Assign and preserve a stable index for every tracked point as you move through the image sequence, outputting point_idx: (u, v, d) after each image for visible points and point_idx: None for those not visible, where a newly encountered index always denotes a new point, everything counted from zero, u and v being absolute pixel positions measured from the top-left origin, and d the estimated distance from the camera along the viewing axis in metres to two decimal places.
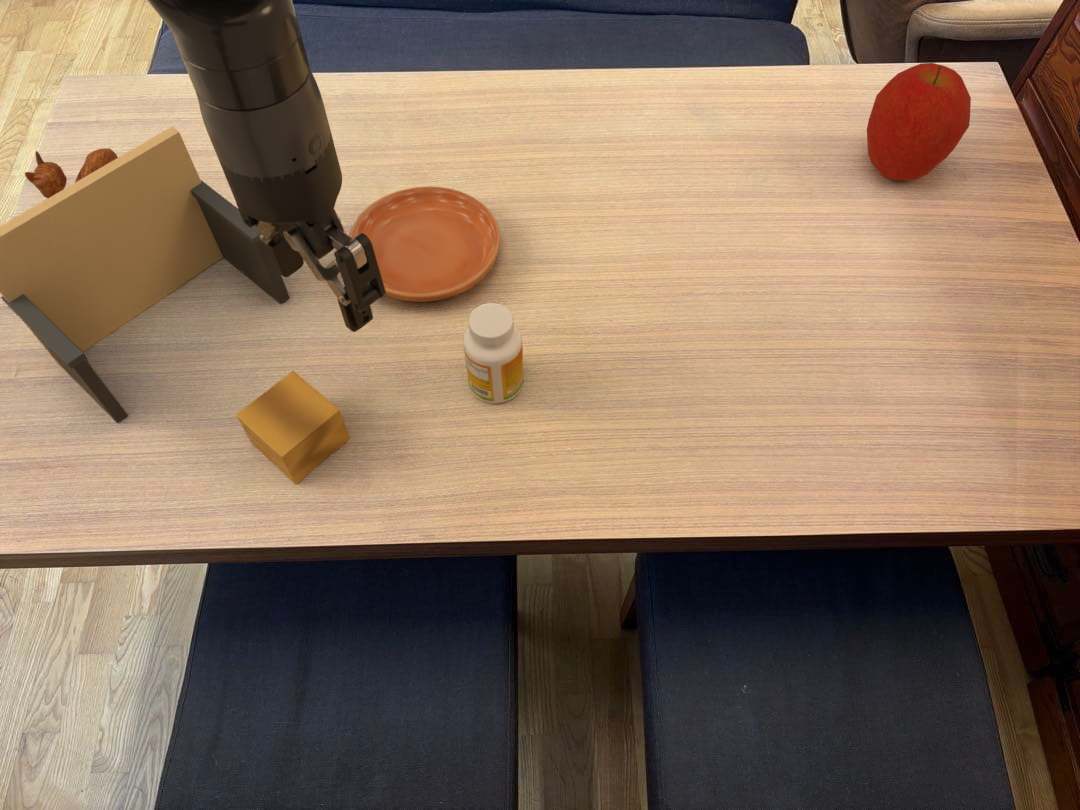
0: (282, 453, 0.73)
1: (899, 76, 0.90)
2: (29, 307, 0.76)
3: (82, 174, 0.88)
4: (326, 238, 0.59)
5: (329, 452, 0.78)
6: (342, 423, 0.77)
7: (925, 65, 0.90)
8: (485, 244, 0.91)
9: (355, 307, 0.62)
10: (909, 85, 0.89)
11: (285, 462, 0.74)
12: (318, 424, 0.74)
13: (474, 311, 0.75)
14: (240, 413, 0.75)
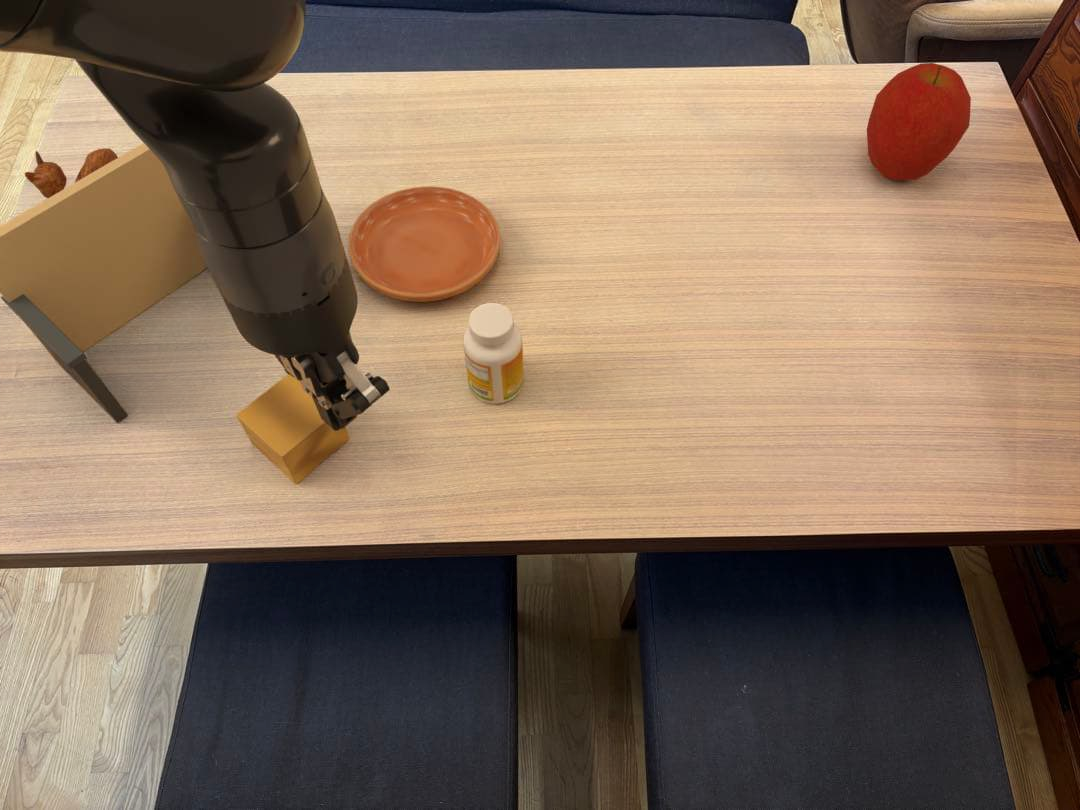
0: (282, 453, 0.73)
1: (899, 76, 0.90)
2: (29, 307, 0.76)
3: (82, 174, 0.88)
4: (342, 374, 0.53)
5: (329, 452, 0.78)
6: None
7: (925, 65, 0.90)
8: (485, 244, 0.91)
9: (337, 414, 0.58)
10: (909, 85, 0.89)
11: (285, 462, 0.74)
12: (318, 424, 0.74)
13: (474, 311, 0.75)
14: (240, 413, 0.75)
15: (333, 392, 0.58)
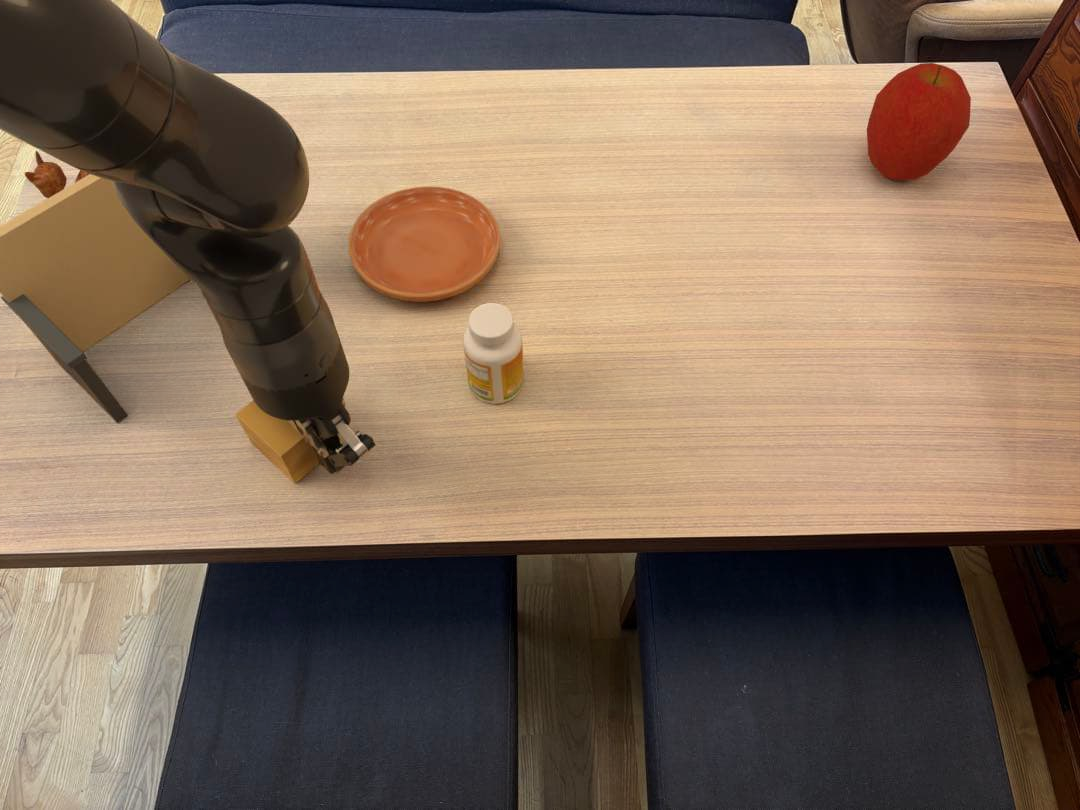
0: (281, 452, 0.73)
1: (899, 76, 0.90)
2: (29, 307, 0.76)
3: (82, 174, 0.88)
4: (336, 433, 0.65)
5: None
6: None
7: (925, 65, 0.90)
8: (485, 244, 0.91)
9: (332, 463, 0.70)
10: (909, 85, 0.89)
11: (284, 461, 0.74)
12: None
13: (474, 311, 0.75)
14: (239, 412, 0.75)
15: (329, 444, 0.71)
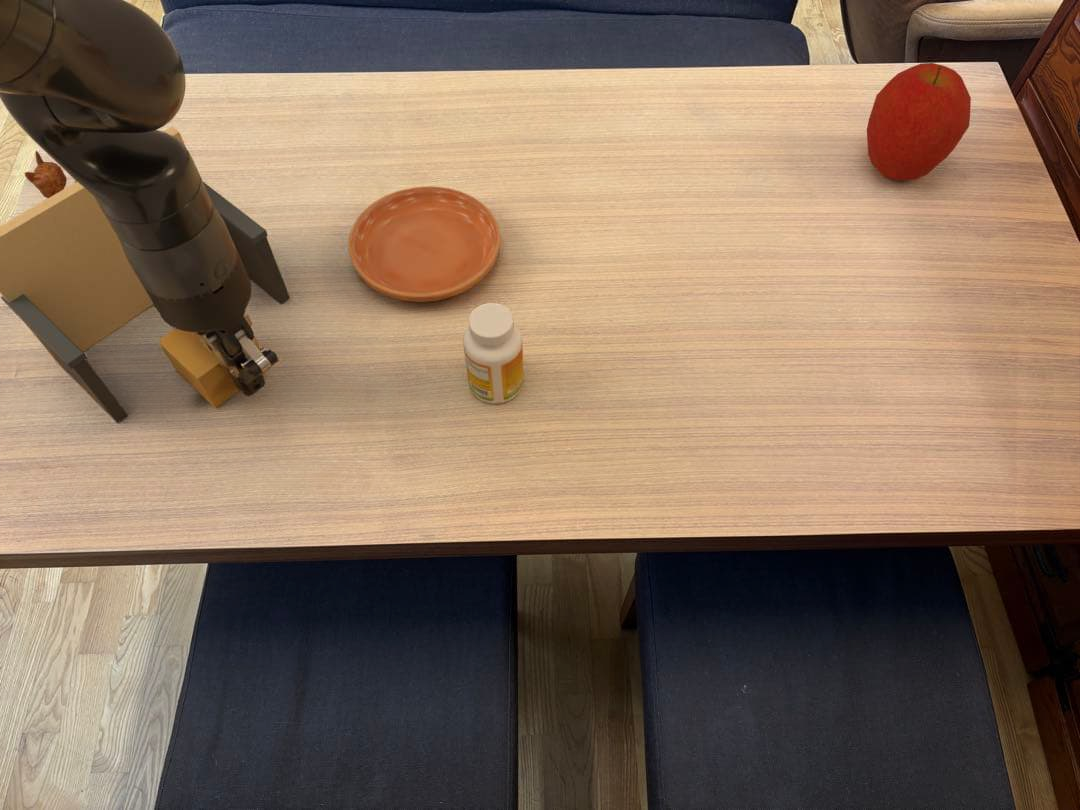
0: (199, 375, 0.77)
1: (899, 76, 0.90)
2: (29, 307, 0.76)
3: None
4: (240, 347, 0.70)
5: None
6: None
7: (925, 65, 0.90)
8: (485, 244, 0.91)
9: (242, 381, 0.74)
10: (909, 85, 0.89)
11: (202, 384, 0.78)
12: None
13: (474, 311, 0.75)
14: (161, 339, 0.80)
15: (240, 364, 0.75)
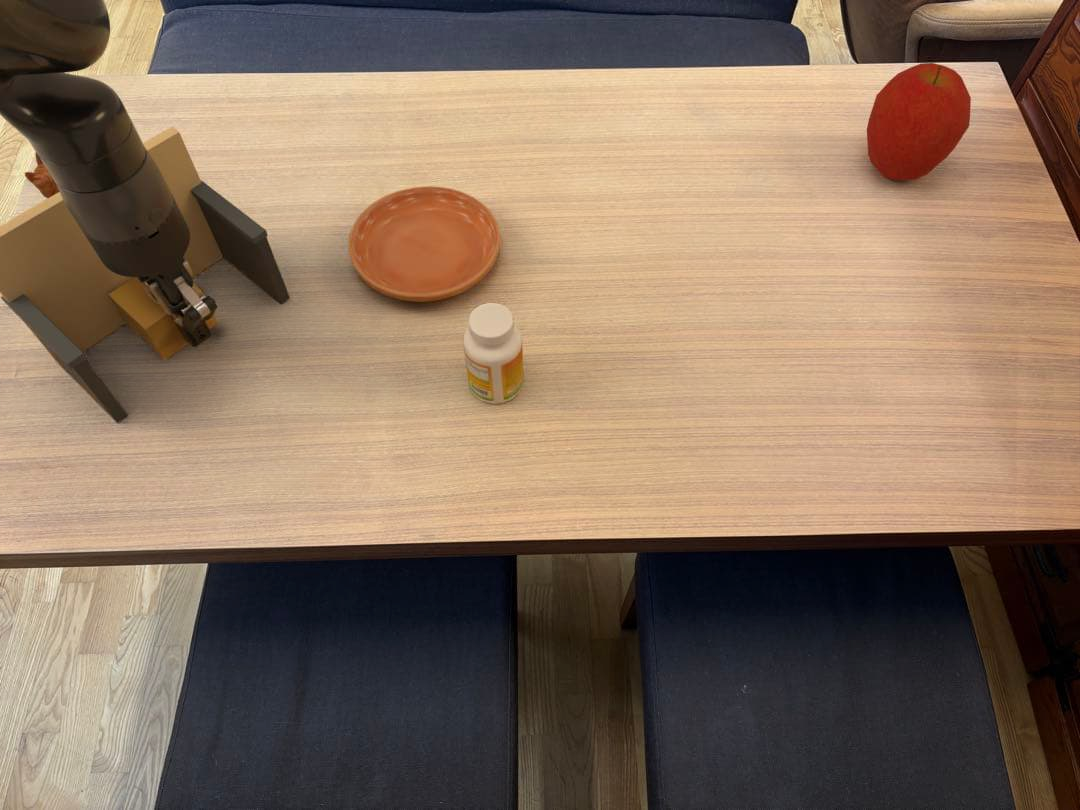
0: (146, 325, 0.81)
1: (899, 76, 0.90)
2: (29, 307, 0.76)
3: None
4: (179, 293, 0.73)
5: None
6: None
7: (925, 65, 0.90)
8: (485, 244, 0.91)
9: (185, 328, 0.77)
10: (909, 85, 0.89)
11: (149, 335, 0.81)
12: None
13: (474, 311, 0.75)
14: (112, 293, 0.83)
15: None
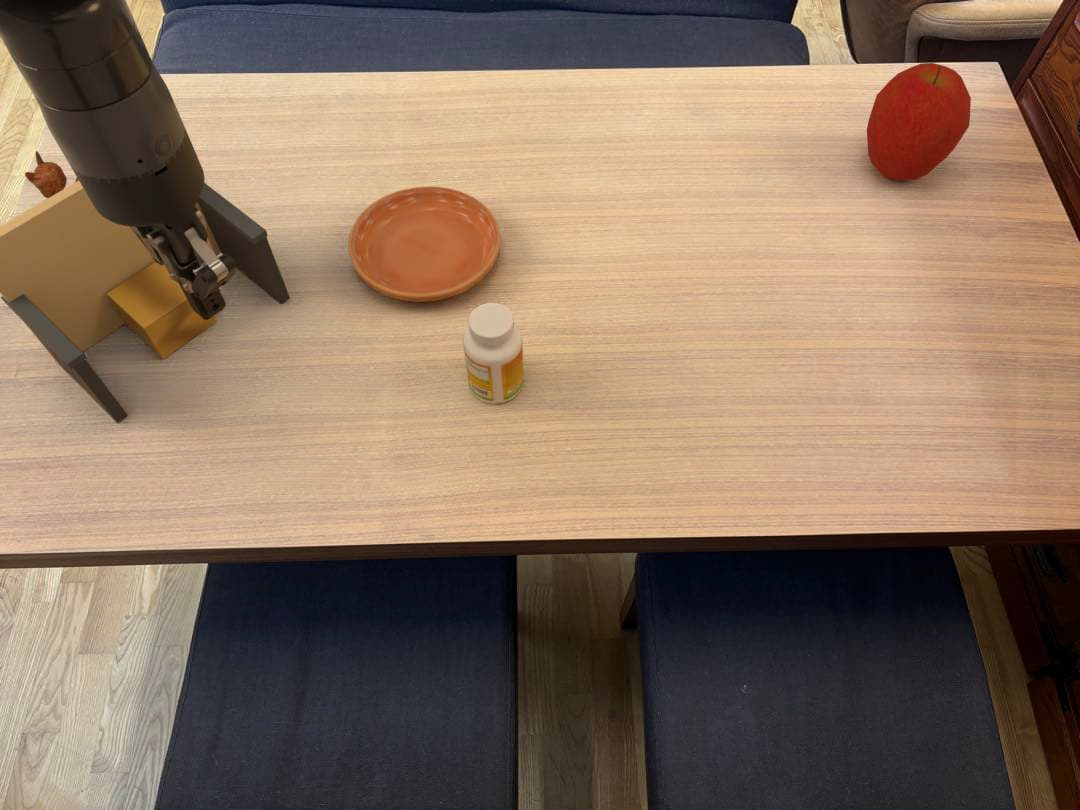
0: (144, 324, 0.81)
1: (899, 76, 0.90)
2: (29, 307, 0.76)
3: None
4: (190, 249, 0.59)
5: (195, 332, 0.86)
6: None
7: (925, 65, 0.90)
8: (485, 244, 0.91)
9: (196, 295, 0.64)
10: (909, 85, 0.89)
11: (148, 334, 0.81)
12: (180, 301, 0.82)
13: (474, 311, 0.75)
14: (110, 292, 0.83)
15: (195, 276, 0.64)
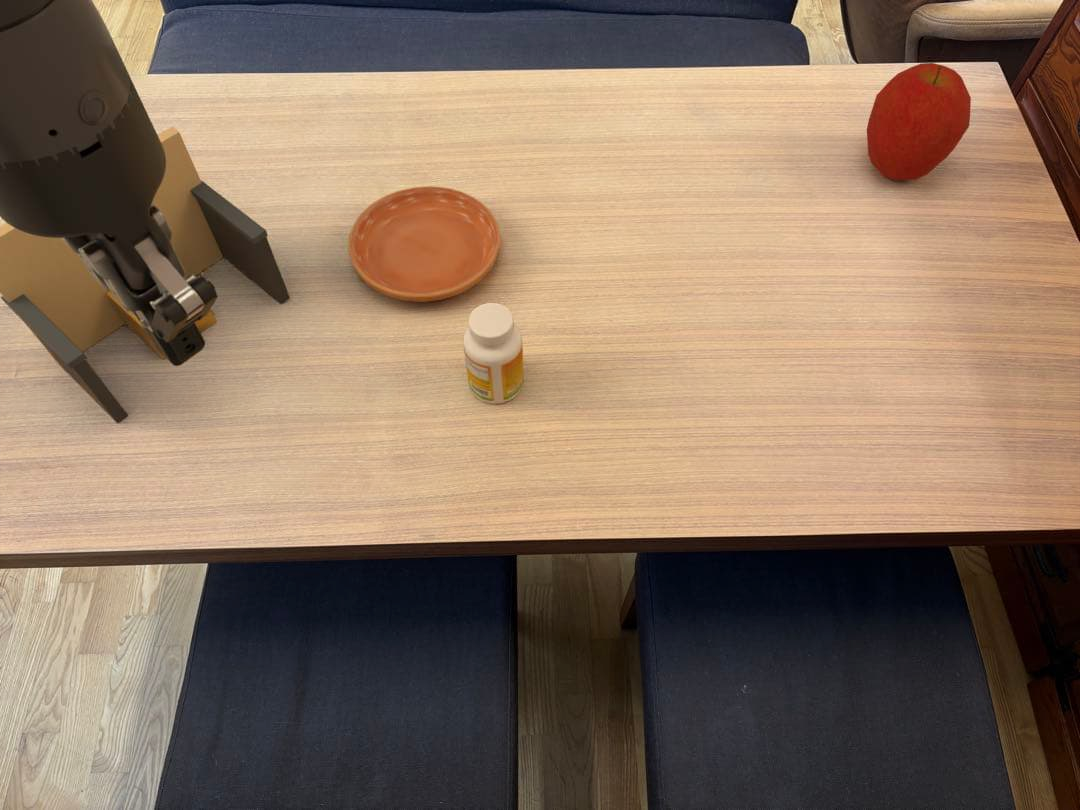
0: None
1: (899, 76, 0.90)
2: (29, 307, 0.76)
3: None
4: (145, 271, 0.39)
5: None
6: None
7: (925, 65, 0.90)
8: (485, 244, 0.91)
9: (159, 336, 0.43)
10: (909, 85, 0.89)
11: None
12: None
13: (474, 311, 0.75)
14: (110, 292, 0.83)
15: None
